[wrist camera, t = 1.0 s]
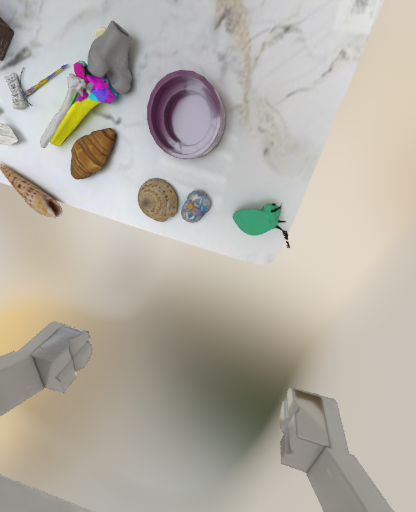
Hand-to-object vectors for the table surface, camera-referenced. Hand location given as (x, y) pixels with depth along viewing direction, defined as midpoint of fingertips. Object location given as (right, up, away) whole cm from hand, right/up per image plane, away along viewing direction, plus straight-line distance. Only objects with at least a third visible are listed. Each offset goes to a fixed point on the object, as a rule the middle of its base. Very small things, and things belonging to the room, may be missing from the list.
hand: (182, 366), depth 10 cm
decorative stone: (-1, +15, +40) cm, 43 cm away
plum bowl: (-2, +29, +34) cm, 45 cm away
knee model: (-21, +34, +36) cm, 54 cm away
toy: (+16, +10, +36) cm, 40 cm away
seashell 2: (-9, +16, +41) cm, 45 cm away
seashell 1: (-41, +18, +45) cm, 63 cm away
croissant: (-22, +25, +41) cm, 52 cm away
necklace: (-38, +36, +39) cm, 65 cm away
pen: (-30, +37, +37) cm, 61 cm away
